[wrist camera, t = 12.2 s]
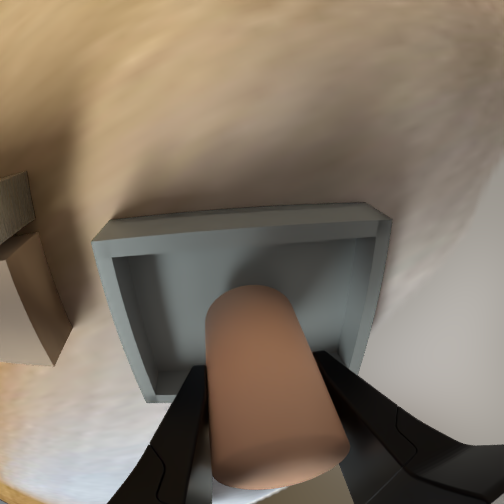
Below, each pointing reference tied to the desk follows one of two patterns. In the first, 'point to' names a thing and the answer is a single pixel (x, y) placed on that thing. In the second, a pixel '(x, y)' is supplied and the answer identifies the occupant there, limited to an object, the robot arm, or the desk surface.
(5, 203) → the bar
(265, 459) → the dowel
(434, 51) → the desk surface
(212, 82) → the desk surface
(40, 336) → the tan rectangular block
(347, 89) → the desk surface
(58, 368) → the desk surface
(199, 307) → the tray
